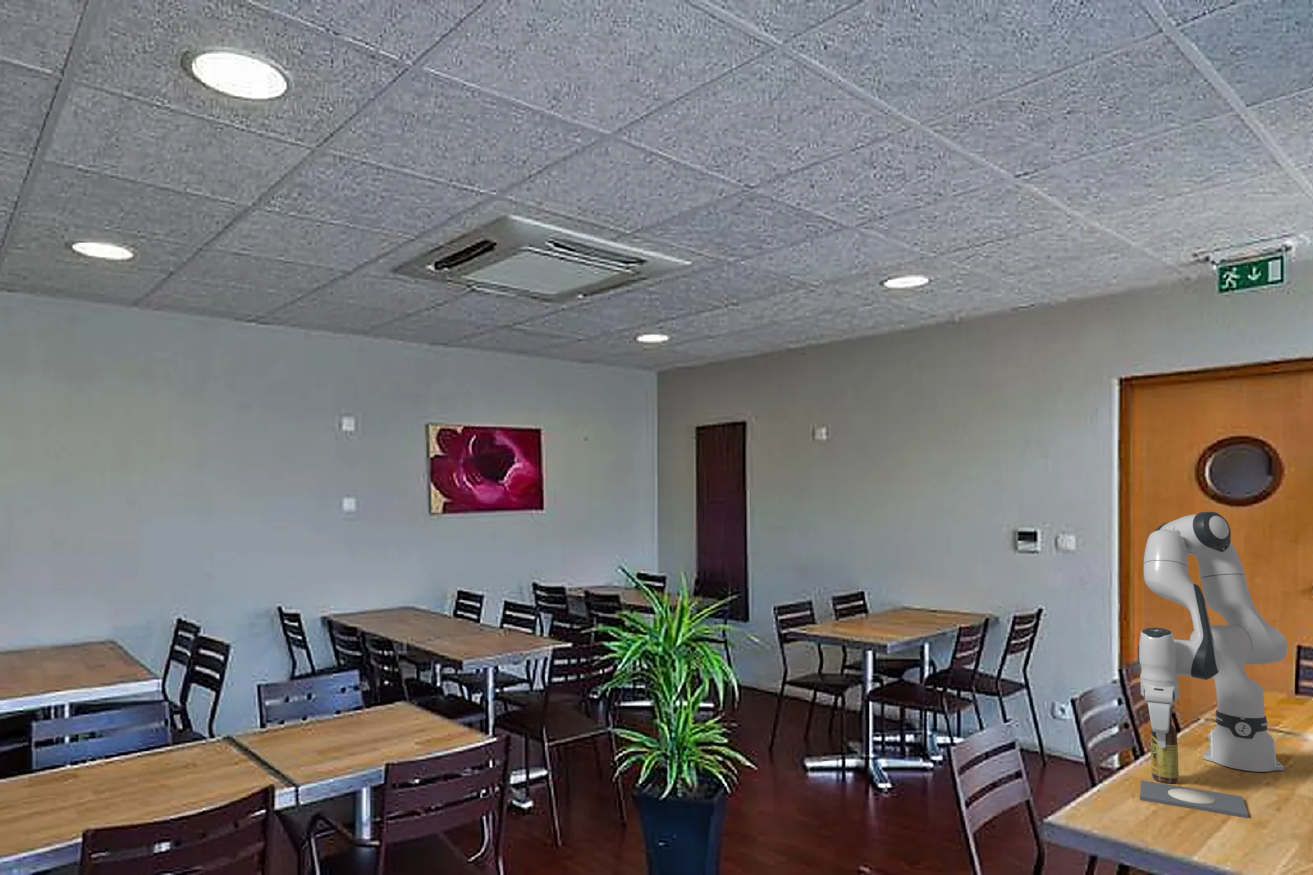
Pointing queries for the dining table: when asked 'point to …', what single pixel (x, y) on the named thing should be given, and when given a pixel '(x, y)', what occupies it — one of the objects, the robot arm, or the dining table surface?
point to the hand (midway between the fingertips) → (1162, 743)
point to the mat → (1193, 798)
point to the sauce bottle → (1165, 757)
